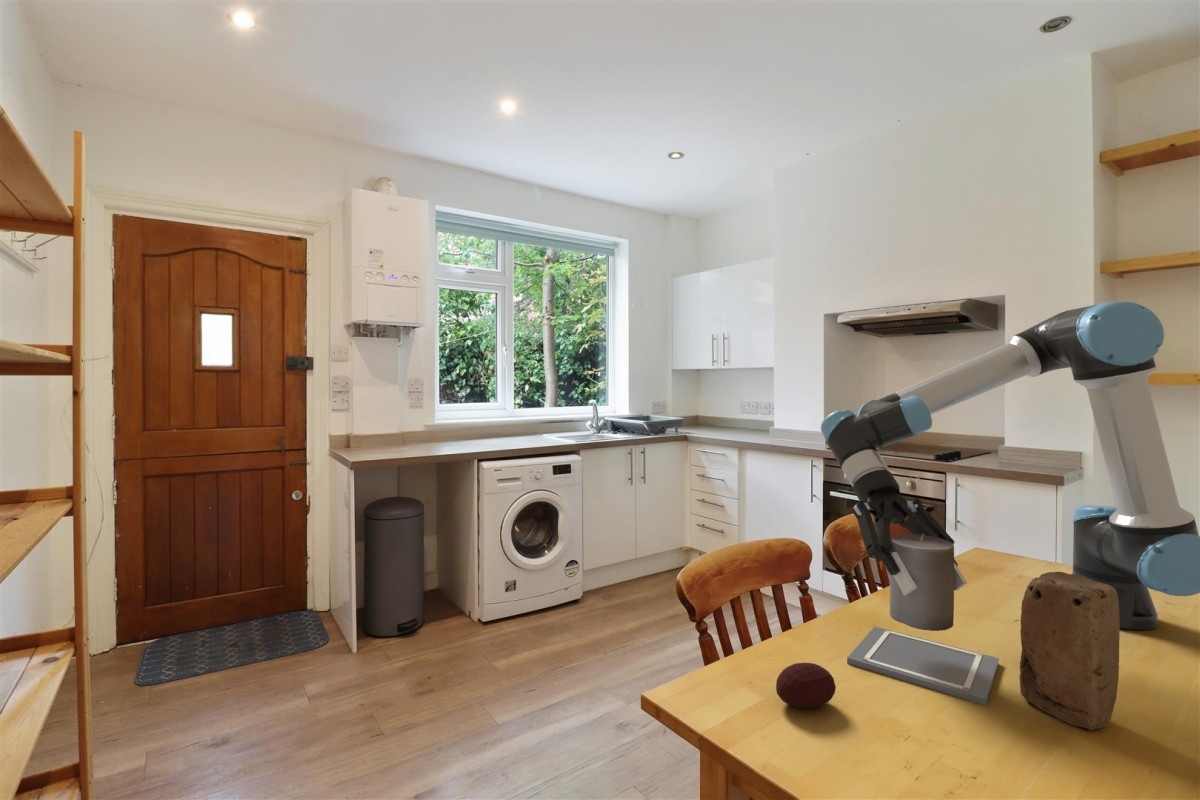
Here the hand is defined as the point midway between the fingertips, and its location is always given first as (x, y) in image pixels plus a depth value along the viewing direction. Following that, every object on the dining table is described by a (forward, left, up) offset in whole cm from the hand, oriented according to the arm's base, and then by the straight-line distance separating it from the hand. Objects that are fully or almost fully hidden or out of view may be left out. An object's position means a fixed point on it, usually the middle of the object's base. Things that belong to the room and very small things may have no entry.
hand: (936, 589), depth 96 cm
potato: (+13, +24, -14) cm, 31 cm away
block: (-17, +1, -14) cm, 22 cm away
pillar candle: (+3, -2, -7) cm, 7 cm away
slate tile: (+2, -2, -14) cm, 14 cm away
